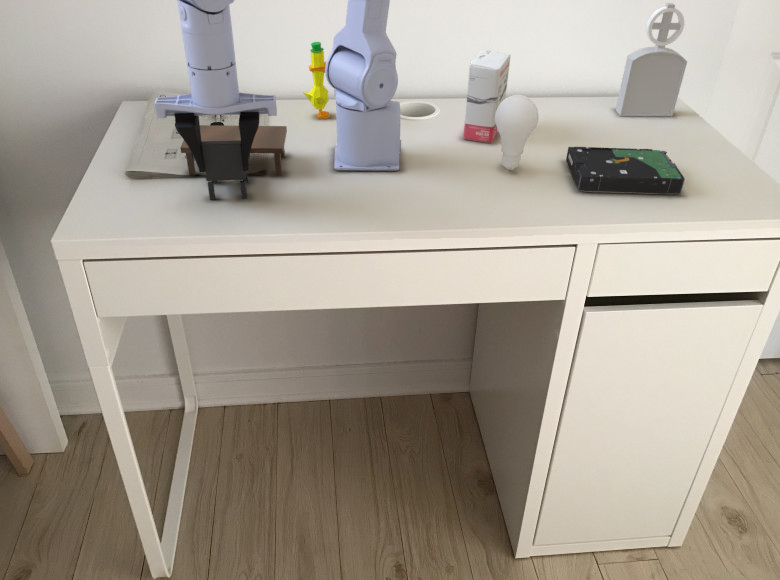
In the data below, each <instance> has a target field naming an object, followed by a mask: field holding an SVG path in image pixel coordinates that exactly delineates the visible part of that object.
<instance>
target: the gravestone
mask: <svg viewBox="0 0 780 580" xmlns="http://www.w3.org/2000/svg"><path fill="white" fill-rule="evenodd" d="M674 13H675V15H676V16H677V19H678V21H677V22H672V20H673V16H674ZM661 15H662V17H661V21H660V22H656V20H657V19H658V18H659V17H660V16H661ZM645 26H646V27H645V32H646V36H647V38H648V39H649V40H650V42H651V43H652V44H654V46H647V47H643V48H639V49H636V50H633V52H630V53H629V54H628V55H627V56H626V61H625V63H624V64H625V65H624V69H623V74H622V79H621V82H620V88H619V92H618V97H617V102H616V106H615V112H616V113H617V115H619V116H620V117H673V115H674V114H675V108H676V105H677V101H678V97H679V94H680V90H681V87H682V83H683V79H684V76H685V72H686V67H687V65H688V60H686V59H685V58H684V57H683V56H682V55H681V54H680V53H679V52H678V51H676V50H674V49H672V48H669V47H666V46H669V45H671V44H673V43H674V42H675V41H676V40H677V39H678V38H679V37H680V36H681V35H682V33H683V32H684V31H683V30H684V27H685V17H684V15H683V13H682V12H681V11H680V10H679V9H678V8H676V4H675V3H674V2H665V5H664V6H662V7H660V8H658V9H656V10H654V12H653V13H652V14H651V15H650V17H649V18H648V20H647V22H646V25H645ZM653 30H658V33H657V38H655V37H654V35H653ZM670 30H671V31H674V32H673V34H671V35H670V36H669V32H670ZM668 36H669V37H668Z"/></svg>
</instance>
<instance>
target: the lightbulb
mask: <svg viewBox="0 0 780 580" xmlns="http://www.w3.org/2000/svg"><path fill="white" fill-rule="evenodd" d="M495 123H496V126H497V129H498V134H499V136H500V141H501V153H502V157H501V166H502V167H503V168H505V169H506V170H508V171H513V170H515V169H517V168H518V167H519V166H520V162H521V157H522V155H523V153H524V148H525V146H526V143H527V141H528V139H529V138H530V136H531V135H532V134H533V132H534V131H535V129H536V128H537V126H538V123H539V110H538V107H537V105H536V104H535V102H534V101H533V100H532V99H531V98H530V97H528V96H525V95H523V94H513V95H510V96H507V97H505V99H504V100H503V101H502V102H501V103H500V104H499V106H498V108H497V110H496V113H495Z"/></svg>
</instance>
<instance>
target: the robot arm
mask: <svg viewBox="0 0 780 580" xmlns="http://www.w3.org/2000/svg"><path fill="white" fill-rule="evenodd" d="M176 2H177V6H178V12H179V20H180V29H181V37H182V42H183V50H184V55H185V62H186V68H187V74H188V75H187V76H188V81H189V87H190V88H189V89H190V93H187V94H179V95H173V96H172V95H171V96H164V97H162V96H161V97H160V96H159V97H156V98H155V101H154V103H153V104H154V109H155V115H156V119H166V118H167V117H174V127H175V130H176V132H177V133H178V134H179V135H180V137H181V138H182V139H183V141H185V142H186V144H187V145H188V147H189V149H190V150H191V152H192V154H193V158H194V161H195V163H196V165H197V168H198V171H199V173H200V174H201V173H204V174H205V166H204V161H203V155H202V148H201V143H202V140H201V133H200V116H239V117H238V126H239V130H240V137H241V144H242V162H243V171H247V172H249V171H250V156H251V153H250V151H251V147H252V143H253V140H254V137H255V134H256V132H257V130H258V126H260V117H261V116H260V115H267V116H269V117H277V116H278V111H277V109H278V107H277V96H276V95H274V94H272V95H267V94H255V93H247V92H240V91H239V90H240V89H239V80H238V79H239V78H238V69H237V62H236V53H235V44H234V43H235V42H234V34H233V23H232V18H231V8H230V7H231V6H230V5H231V4H233V3H234V2H235V0H176ZM390 3H391V0H347V7H346V16H345V25H344V26H343V28H341V29H340V30H339V31H338V32H337V33H336V34H335V35H334V36H333V40H332V41H333V43H332V48H331V51H330V53H329V55H328V56H327V59H326V61H325V62H326V66H325V73H324V76H325V78H326V81H327V83H328V85H330V87H332V88H333V96H334V97H335V116H336V117H335V118H336V119H335V120H336V145H335V146H334V161H333V162H334V164H333V169H334V170H335V171H400V153H401V152H402V139H401V103H400V101H397V100H392V99H393V98H394V96H395V94H396V92H397V90H398V85H399V84H398V83H399V77H398V76H399V75H398V71H397V66H396V63H397V61H396V60H397V51H396V49H395V47H394V45H393V43H392V42H391V40H390V38H389V37H388V33H387V25H388V18H389V10H390Z"/></svg>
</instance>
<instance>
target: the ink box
mask: <svg viewBox="0 0 780 580" xmlns="http://www.w3.org/2000/svg"><path fill="white" fill-rule="evenodd" d="M510 65H511V53H504V52H499V51H493V50H490V49H489V50H487V49H481V50H480V51H479V52H478V53H477V54H476V55H475V56H474V58H473V59H472V60H471V61H470V65H469V68H468V79H467V92H466V102H465V103H466V105H465V114H464V125H463V126H464V127H463V139H464V140H468V141H474V142H480V143H481V142H482V143H488V144H489V143H490V144H492V143H493V142H494V140H495V137H496V136H497V134H498V133H499V131H498V129H497V126H496V123H495V113H496V110H497V108H498V106H499V104H500V103H501V102H502V101H503V100H504V99H506V95H507V88H508V81H509V80H508V79H509V71H510Z"/></svg>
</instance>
